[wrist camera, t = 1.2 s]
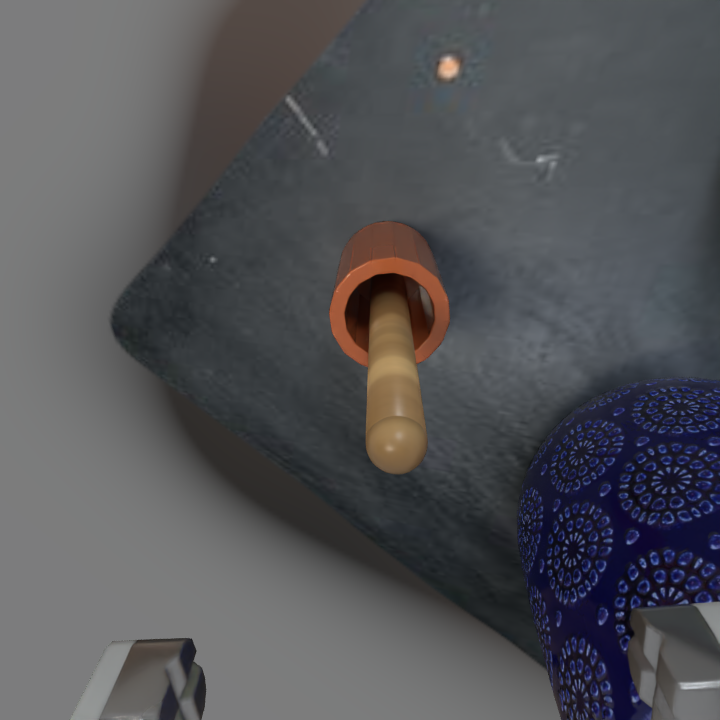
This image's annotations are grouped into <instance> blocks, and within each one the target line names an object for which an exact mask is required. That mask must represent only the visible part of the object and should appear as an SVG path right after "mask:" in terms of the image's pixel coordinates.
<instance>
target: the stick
mask: <svg viewBox="0 0 720 720" xmlns="http://www.w3.org/2000/svg"><path fill="white" fill-rule="evenodd" d="M427 444H428V439H427V433H426V426H425V419H424V412H423V405H422V398H421V391H420V384H419V377H418V370H417V363H416V356H415V349H414V342H413V335H412V328H411V321H410V315H409V308H408V301H407V294H406V287H405V280H404V276H403V275H400V274H396V273H387V274H378V275H375V276H373V277H371V291H370V322H369V353H368V384H367V415H366V449H367V453H368V455H369V457H370V459H371V461H372V462H373V463H374V465H375V466H377V467H378V468H379V469H381V470H382V471H384V472H387V473H390V474H403V473H407V472H410V471H411V470H413V469H415V468H416V467H417V466H418V465H419V464H420V463H421V462H422V461H423V459H424V457H425V455H426V451H427Z"/></svg>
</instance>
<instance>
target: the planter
mask: <svg viewBox="0 0 720 720" xmlns="http://www.w3.org/2000/svg"><path fill="white" fill-rule="evenodd" d="M517 534H518V546H519V552H520V558H521V564H522V569H523V575H524V580H525V584H526V589H527V593H528V598H529V603H530V607H531V612H532V616H533V619H534V623H535V627H536V630H537V634H538V638H539V642H540V645H541V649H542V653H543V656H544V660H545V664H546V668H547V671H548V675H549V679H550V682H551V686H552V689H553V693H554V696H555V700H556V703H557V706H558V710H559V713H560V717H561V720H651V715H652V708H651V707H650V706H649V705H647V704H646V703H645V702H644V701H642V700H641V699H640V698H639V695H638V693H637V690H636V688H635V686H634V683H633V679H632V676H631V673H630V668H629V662H628V641H629V640H630V639H631V638H632V637H633V636H634V635H635V634H634V632H633V630H632V627H631V625H630V615H631V612H632V610H633V608H638V607H651V606H664V605H676V604H694V603H709V602H720V381H717V380H710V379H702V378H692V377H670V378H658V379H649V380H643V381H638V382H634V383H630V384H626V385H623V386H620V387H617V388H614V389H612V390H609V391H607V392H605V393H602V394H600V395H598V396H596V397H594V398H593V399H591V400H589V401H587V402H586V403H584V404H582V405H581V406H580V407H578V408H577V409H575V410H574V411H573V412H571V413H570V414H569V415H568V416H566V417H565V418H564V419H563V420H562V421H561V422H560V423H559V424H558V425H557V426H556V427H555V428H554V429H553V430H552V431H551V433H550V434H549V435H548V436H547V438H546V439H545V440H544V442H543V443H542V445H541V446H540V448H539V449H538V451H537V453H536V454H535V456H534V458H533V460H532V462H531V464H530V466H529V468H528V471H527V473H526V476H525V479H524V482H523V486H522V489H521V492H520V496H519V501H518V509H517Z"/></svg>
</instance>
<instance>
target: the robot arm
mask: <svg viewBox="0 0 720 720" xmlns="http://www.w3.org/2000/svg"><path fill="white" fill-rule="evenodd" d="M630 625H631V627H632V630H633V632H634V634H635V635H634V636H633V637H632V638H631V639H630V640H629V641H628V662H629V668H630V673H631V676H632V679H633V683H634V686H635V688H636V690H637V693H638V695H639V698H640V699H641V700H642V701H644V702H645V703H646V704H647V705H649V706H650V707H651V708H652V715H651V720H720V602H709V603H694V604H676V605H664V606H651V607H638V608H633V610H632V612H631V615H630ZM195 654H196V648H195V646H194V644H193V641H192V639H190V638H176V639H150V640H133V641H113V642H111V643H110V644H109V645H108V646H107V647H106V649H105V650H104V652H103V654H102V656H101V658H100V660H99V662H98V664H97V666H96V668H95V670H94V672H93V674H92V676H91V678H90V680H89V682H88V684H87V686H86V688H85V690H84V692H83V694H82V696H81V698H80V700H79V702H78V704H77V706H76V708H75V710H74V712H73V714H72V716H71V718H70V720H201V719H202V715H203V711H204V707H205V696H206V684H205V676H204V673H203V670H202V668H201V667H200V666H199V665H197V664H196V663H195V662H193V660H194V657H195Z"/></svg>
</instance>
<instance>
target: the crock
mask: <svg viewBox="0 0 720 720" xmlns="http://www.w3.org/2000/svg"><path fill="white" fill-rule="evenodd" d="M387 273H396V274H400V275H403V276H404V280H405V287H406V294H407V301H408V308H409V315H410V321H411V328H412V335H413V342H414V349H415V356H416V363H417V364H418V363H420V362H422V361H424V360H426V358H428V357H429V356H430V355H431V354H432V353H433V352H434V351H435V350H436V349H437V348H438V347H439V345H440V344H441V343H442V341H443V339H444V337H445V334H446V331H447V329H448V326H449V323H450V322H449V321H450V310H449V299H448V296H447V293H446V290H445V287H444V284H443V281H442V278H441V275H440V272H439V269H438V266H437V264H436V261H435V258H434V255H433V253H432V251H431V249H430V247H429V245H428V243H427V242H426V240H425V239H424V238H423V236H422V235H421V234H419V233H418V232H417V231H416V230H414V229H413V228H411V227H409V226H407V225H405V224H402V223H398V222H392V221H383V222H377V223H373V224H370V225H368V226H366V227H364V228H362V229H361V230H359V231H358V232H357V233H355V234H354V235H353V236H352V238H351V239H350V240H349V241H348V243H347V244H346V246H345V248H344V250H343V252H342V256H341V260H340V264H339V267H338V272H337V277H336V281H335V286H334V291H333V295H332V300H331V304H330V309H329V316H330V323H331V329H332V333H333V335H334V337H335V339H336V340H337V342H338V344H339V345H340V347H341V348H342V350H343V351H344V353H345V354H347V355H348V356H349V357H351V358H352V359H354V360H355V361H356V362H358V363H359V364H361V365H363V366H367V367H368V353H369V322H370V291H371V277H373V276H375V275H378V274H387Z"/></svg>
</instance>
